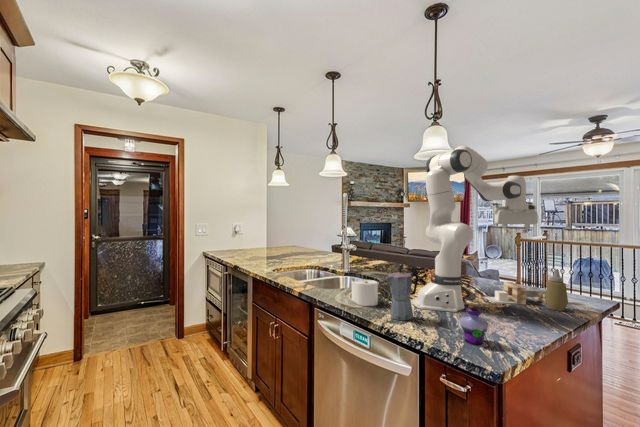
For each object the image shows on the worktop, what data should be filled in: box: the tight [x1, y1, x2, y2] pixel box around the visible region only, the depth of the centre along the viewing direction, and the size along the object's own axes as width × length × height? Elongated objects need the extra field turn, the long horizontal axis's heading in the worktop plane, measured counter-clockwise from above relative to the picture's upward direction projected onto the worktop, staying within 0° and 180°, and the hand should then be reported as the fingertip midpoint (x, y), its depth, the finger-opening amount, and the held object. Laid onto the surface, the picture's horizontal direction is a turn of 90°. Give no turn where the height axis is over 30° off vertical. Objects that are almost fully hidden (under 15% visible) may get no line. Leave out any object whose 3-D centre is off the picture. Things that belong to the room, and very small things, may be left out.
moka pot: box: [385, 267, 420, 321], centre depth 122 cm, size 10×15×20 cm, turn 113°
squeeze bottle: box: [545, 268, 569, 312], centre depth 134 cm, size 8×8×18 cm
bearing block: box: [503, 281, 527, 306], centre depth 147 cm, size 4×12×8 cm, turn 175°
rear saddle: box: [534, 294, 547, 305], centre depth 146 cm, size 4×8×4 cm, turn 175°
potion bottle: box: [459, 304, 490, 346], centre depth 98 cm, size 9×9×12 cm
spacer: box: [494, 290, 508, 301], centre depth 147 cm, size 4×4×4 cm
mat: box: [484, 296, 517, 305], centre depth 147 cm, size 10×10×1 cm
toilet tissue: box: [350, 279, 379, 307], centre depth 141 cm, size 11×12×10 cm
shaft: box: [526, 279, 551, 298], centre depth 146 cm, size 20×4×8 cm, turn 85°
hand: (515, 232), depth 157 cm, fingers open, 8 cm apart
